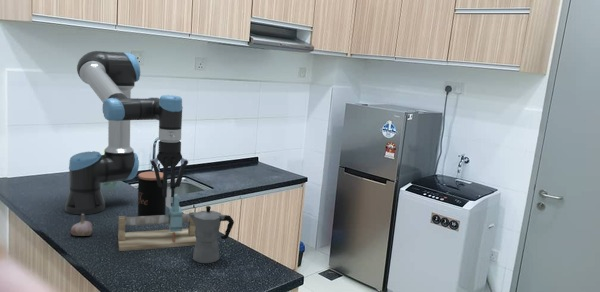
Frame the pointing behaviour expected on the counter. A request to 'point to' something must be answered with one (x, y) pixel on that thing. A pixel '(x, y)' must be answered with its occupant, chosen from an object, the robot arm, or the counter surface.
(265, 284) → the counter surface
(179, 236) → the pipe stand
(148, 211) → the coffee jar
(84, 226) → the garlic bulb
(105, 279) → the counter surface
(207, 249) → the coffeepot
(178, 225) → the collar
